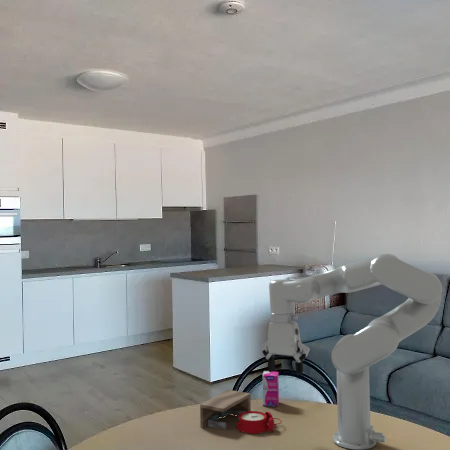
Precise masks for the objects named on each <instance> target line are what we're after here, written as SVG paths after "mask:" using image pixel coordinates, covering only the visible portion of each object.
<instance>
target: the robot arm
mask: <svg viewBox="0 0 450 450" xmlns="http://www.w3.org/2000/svg"><path fill="white" fill-rule="evenodd" d="M268 284H269V285H268V290H269V308H270V310H269V311H270V312H269V313H270V322H269V325H268V331H267V340H265V341H264V342H262V343H261V344H259V348H260V349H261V351H262V354H263V356H265V359H266V360H267V369H268V371H269V372H276V358H275V357H274V356H275V355H278V356H289V357H293V358H294V360H295V361H296V362H295V363H294V364H295V375H296V376H297V377H298V376H300V375H302V374H303V371H304V363H303V361H304V360H305V359H306V358H307V357H308V356H309V352H310V351H311V348H310V347H309V346H307V345H305V344H304V343H303V342H302V339H301V333H300V328H299V324H298V322H296V320H297V321H298V319H299V316H298V315H295V306H294V305H295V304H308V303H310V302H312V301H314V300H316V299H320V298H323V297H328V296H331V295H335V294H340V293H345V294H347V293H348V294H349V293H354V292H358V291H362V290H365V289H369V288H373V287H376V286H381V285H383V286H385V287H387V288H388V289H390V290H392V291H394V292H396V293H398V294H400V295H402V296H405V297H407V299H406V300H405V301H404V302H403V303H400V304H399V305H398V306H396V307H395V308H393V309H391V310H390V311H388V312H385V314H383V315H381V316H379V317H377V318H374V319H372V320H370V322H369V323H368V325H367V326H366V327H363V328H362V329H360V330H359V331H357V332H356V333H354V334H351V333H350V334H349V333H348V334H346V335H344V336H342V337H341V338H340V339H339V340H338V341H337V342H336V344H335V346H334V347H333V349H332V351H331V362H332V365H333V367H334V368H335V369H336V400H337V402H336V405H337V409H336V410H337V431H336V432H335V433H333V435H332V441H333V442H334V443H335V445H337V446H339V447H342V448H344V449H349V450H369V449H372V448H373V447H374V448H375V446H376V445H377V442H378V443H382V444H383V443H384V444H385V442H386V435H384V433H383V432H380V431H379V432H377V431H376V430H374V425H371V404H370V403H371V399H370V398H371V396H370V367H371V366H373V365H375V364H377V363H378V362H380V361H382V360H384V359H385V358H388V357H389V356H390V355H391V354H393V353H394V352H395V351H396V350H397V349H398V346H399V343H401V342H402V341H403V340H406V338H408V337H410V336H411V335H413V334H415V333H416V332H418V331H419V330H421V329H422V328H424V327H425V326H427V325H428V324H429V323H430V322H432V320H433V319H434V318H435V316H436V315H437V312H439V309H440V306H441V301H442V293H443V284H442V282H441V280H440V279H439V277H438V275H436V274H435V273H433V272H432V271H426V270H423V269H420V268H418V267H416V266H414V265H411V264H409V263H407V262H406V261H403V260H401V259H399V257H397V256H396V255H394V254H391V253H383V254H378V255H376V256H373V257H368V258H365V259H361V260H358V261H354V262H350V263H348V264H344V265H340V266H339V267H337V268H335V269H332V270H328V271H324V272H320V273H317V274H314V275H310V276H307V277H303V278H299V279H295V280H290V279H273V280H271V281H270V282H269V283H268ZM302 351H303V352H302Z"/></svg>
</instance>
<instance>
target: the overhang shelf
mask: <svg viewBox="0 0 450 450" xmlns="http://www.w3.org/2000/svg"><path fill="white" fill-rule="evenodd" d="M251 401H252V400H251V393H249V392H244V391H236V390H231V389H227V390H225V391H223V392H222V393H220V394H218V395H216V396H214V397H212V398H209V399H208V400H206V401H204V402H202V403H200V404H199V406H200V407H199V409H200V410H199V411H200V412H199V413H200V415H199V416H200V417H199V419H200V420H199V421H200V422H199V423H200V428H201V429H204V428H205V427H209V428H215V429H220V430H223V429H224V430H225V431H226V430H227V422H225V421H222V420H221V421H220V420H219V419H220V418H219V417H222V418H223V417H224V416H226V415H227V416H228V414H233V415H237V416H239V414H241V413H243V412H247V411H252V410H251ZM227 413H228V414H227ZM233 415H232V416H233ZM227 416H226V417H227ZM218 418H219V419H218ZM222 418H221V419H222ZM224 418H225V417H224ZM224 418H223V419H224Z"/></svg>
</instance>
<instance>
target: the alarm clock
mask: <svg viewBox="0 0 450 450" xmlns="http://www.w3.org/2000/svg"><path fill="white" fill-rule="evenodd" d="M233 417H237V418H238V422H235V423H234V424H235V425H236V427H235V429H237V430H238V431H239V432H242V433H244V434H254V435H255V434H262V433H265V432H267V431H268V432H269V433H271V432H272V433H273V431H274V429H275V427H276V426H277V425H280V424H282V420H281V419H280V418H278V417H273V414H272V413H271V412H270V411H265V413H264V412H262V411H255V410H251V411H247V412H243V413H241V414H239V416H235V415H234V416H233ZM275 420H278V421H279V423H275Z"/></svg>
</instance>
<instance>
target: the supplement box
mask: <svg viewBox="0 0 450 450" xmlns="http://www.w3.org/2000/svg"><path fill="white" fill-rule="evenodd" d="M279 381H280V380H279V371H272V372H269V370H267V371H266V370H264V371H263V373H262V407H275V406H278V407H279V403H280V397H279V395H280V393H279V392H280V389H279V386H280V385H279V383H280V382H279Z"/></svg>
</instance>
